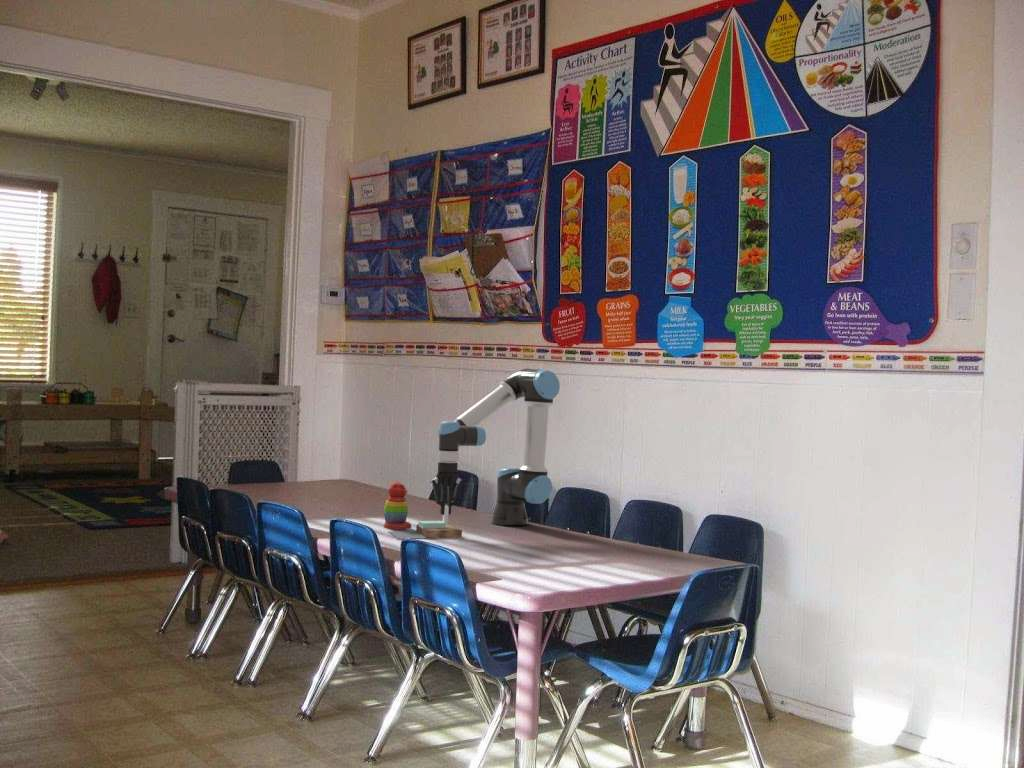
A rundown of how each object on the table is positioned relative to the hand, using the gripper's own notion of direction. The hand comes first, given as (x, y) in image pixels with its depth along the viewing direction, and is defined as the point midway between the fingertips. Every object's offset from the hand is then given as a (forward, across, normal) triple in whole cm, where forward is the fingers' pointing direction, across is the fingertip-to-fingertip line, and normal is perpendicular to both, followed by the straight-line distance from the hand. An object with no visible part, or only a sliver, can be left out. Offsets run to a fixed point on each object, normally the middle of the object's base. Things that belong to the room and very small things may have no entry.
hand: (445, 523), depth 422 cm
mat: (+5, +15, 0) cm, 16 cm away
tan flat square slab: (+5, +2, 0) cm, 5 cm away
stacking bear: (+5, +14, -19) cm, 24 cm away
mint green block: (+2, +5, 0) cm, 5 cm away
